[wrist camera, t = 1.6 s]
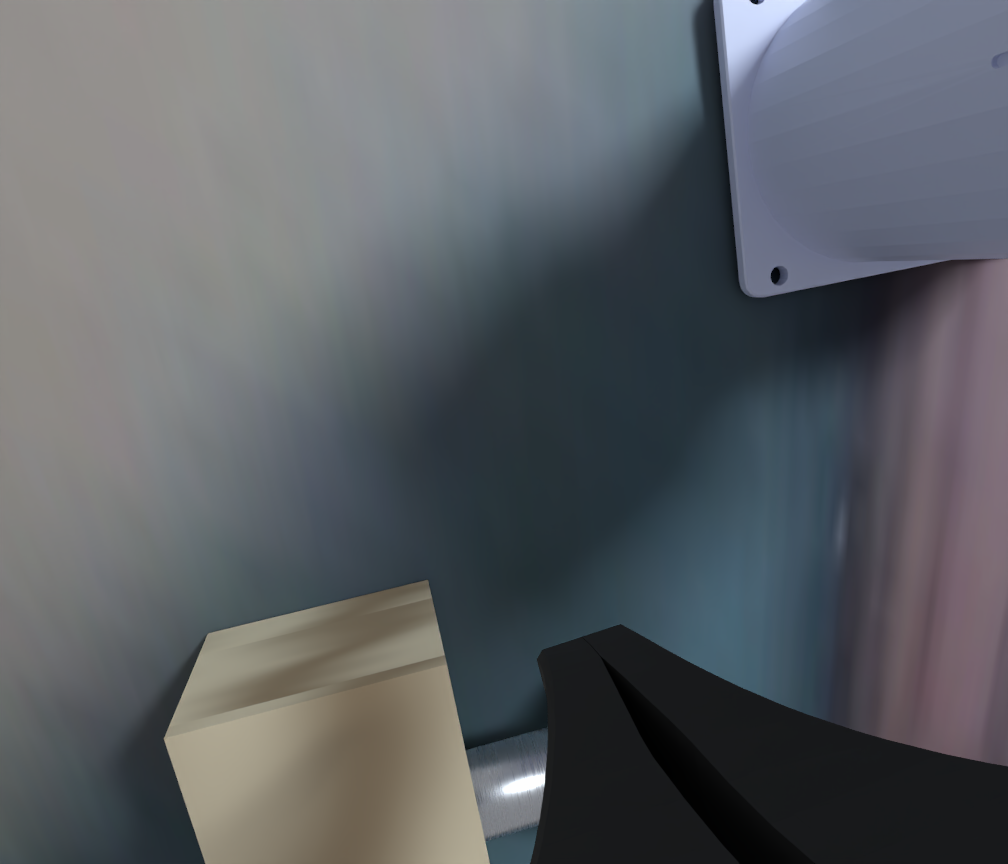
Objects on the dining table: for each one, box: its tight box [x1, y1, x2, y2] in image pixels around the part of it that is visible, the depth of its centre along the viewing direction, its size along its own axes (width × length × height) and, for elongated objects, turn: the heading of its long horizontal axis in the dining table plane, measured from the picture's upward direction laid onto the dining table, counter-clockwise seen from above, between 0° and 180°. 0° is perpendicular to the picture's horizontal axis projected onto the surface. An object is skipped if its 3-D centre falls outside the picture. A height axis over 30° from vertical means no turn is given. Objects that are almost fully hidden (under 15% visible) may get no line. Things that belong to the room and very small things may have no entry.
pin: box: [465, 727, 548, 842], centre depth 19 cm, size 12×4×4 cm, turn 100°
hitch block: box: [164, 580, 490, 864], centre depth 19 cm, size 6×10×5 cm, turn 10°
